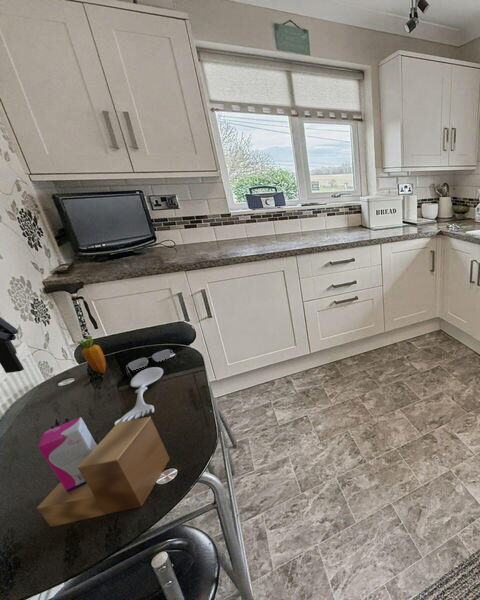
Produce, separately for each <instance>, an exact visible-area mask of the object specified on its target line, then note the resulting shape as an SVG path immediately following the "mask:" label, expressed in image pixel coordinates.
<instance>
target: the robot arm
mask: <svg viewBox="0 0 480 600" xmlns="http://www.w3.org/2000/svg"><path fill="white" fill-rule="evenodd" d="M17 334H19V330H18V329H17V328H16V327H15V326H13V325H12V324H11V323H9V322H8V321H7V320H5V319H4V318H2V317H1V316H0V366H1V367H2V369H3V371H4V372H5V374H10V373H18V372H22V371H24V370H25V368H24V366H23V364H22V362H21V361H20V359H19V358H18V356H17V354H18V353H17V349H16V348H15V346H14V344H13V342H12V341H15V340H16V339H17V336H16V335H17Z"/></svg>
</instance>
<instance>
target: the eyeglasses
mask: <svg viewBox="0 0 480 600" xmlns="http://www.w3.org/2000/svg"><path fill="white" fill-rule="evenodd" d="M171 353H172V354H173V356H174V358H175V360H176V362H178V360H177V356H176V355H175V353H174V352H173V350H172V349H162V350H160V351H156V352H155V353H153V354H152V355H151V356H149V357H140V358H138V359H135V360H132V361H130V362H128V363H127V365H126V366H125V367H126V369H127V371H128V374H129V375H130V377H131V378H133V376H132V375H131V373H130V371H129V369H130V370H131V371H133V370H136V369H139V368H142V367H144V368H146V367H147V366H148V364H149V358H152V360H153V361H154V362H157V363H159V361H160V362H163V361H166V360H168V359H170V358H171ZM165 359H166V360H165ZM162 360H163V361H162ZM145 366H146V367H145ZM142 369H143V368H142ZM139 370H140V369H139ZM136 371H137V370H136ZM133 372H134V371H133Z"/></svg>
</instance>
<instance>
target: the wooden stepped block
mask: <svg viewBox="0 0 480 600" xmlns="http://www.w3.org/2000/svg"><path fill="white" fill-rule="evenodd" d="M170 460H171V459H170V456H169V454H168V452H167V449H166V447H165V445H164V443H163V441H162V439H161V437H160V434H159V432H158V430H157V428H156V425H155V424H154V421H153V418H152V416H144V417H139V418H138V419H132V420H129V421H124V422H119V423H117V424H116V425H115V424H114V426H113V427H112V429H111V430H110V431H109V432H108V433H107V434H106V435H105V436H104V437H103V438H102V439H101V440H100V442H99V443H98V444H97V446H96V447H95V448H94V450H93V451H92V452H91V453H90V454H89V455H88V456H87V457H86V458H85V459H84V461H83V462H82V463H81V464H80V465H79V466H78V467H77V468H78V469H79V471H80V472H81V474H82V476H83V477H84V479H85V481H86V482H87V483H86V484H84V485H82V486H79V487H77V488H75V489H73V490H71V491H69V492H67V491H66V490H65V488H64V487H63V485H62V484H61V482H60V481H59V483H58V484H57V485H56V486H55V487H54V489H53V490H51V491H50V493H49V494H48V495H47V496H46V497H45V498H44V499H43V500H42V501H41V502H40V503H39V505H38V506H37V507H36V509H37V510H38V511H39V512H40V514H41V516H42V517H43V518H44V520H45V521H46V523H47V524H48V526H49V527H50V528H52V527H57V526H62V525H65V524H66V525H67V524H71V523H76V522H79V521H83V520H88V519H92V518H93V519H94V518H97V517H101V516H106V515H109V514H115V513H119V512H122V511H127V510H132V509H136V508H141V507H143V505H144V503H145V502H146V500H147V499H148V496H149V495H150V493H151V492H152V490H153V488H154V487H155V486H156V483H157V481H158V480H159V479H160V477H161V475H162V474H163V472H164V470H165V468H166V466H167V465H168V463H169V462H170Z"/></svg>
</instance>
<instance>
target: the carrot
mask: <svg viewBox="0 0 480 600" xmlns="http://www.w3.org/2000/svg"><path fill="white" fill-rule="evenodd" d="M93 343H94V340H93V336H92V335H88V338H86V341H84V340H83V339H81V340H78V341H77V344H78V345H80V346H83V347H84V348H83V349H82V350H81V354H82V356H83V357H84V359H85V361H86V363H87V364H88V365H89V366H90V368H91V369H93V370H94V371H95V372H96V373H98V374H99V375H101V373H104V372H105V373H106V370H107V363H106V358H105V355H104V352H103V350H102V348H101V347H100V346H99V345H98V344H93ZM105 373H104V374H105Z"/></svg>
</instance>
